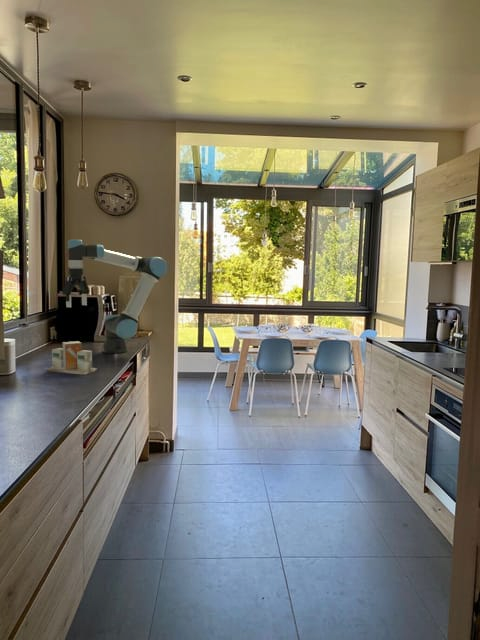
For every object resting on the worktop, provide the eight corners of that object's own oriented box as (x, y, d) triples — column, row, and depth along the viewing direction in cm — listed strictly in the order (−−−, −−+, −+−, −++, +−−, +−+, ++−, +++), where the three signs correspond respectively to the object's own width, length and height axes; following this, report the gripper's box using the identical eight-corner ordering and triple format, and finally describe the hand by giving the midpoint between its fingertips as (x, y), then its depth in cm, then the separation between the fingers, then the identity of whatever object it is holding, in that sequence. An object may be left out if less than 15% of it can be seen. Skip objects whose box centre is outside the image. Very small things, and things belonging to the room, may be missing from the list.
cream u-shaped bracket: (61, 366, 233) (60, 347, 232) (96, 370, 227) (96, 350, 226) (47, 370, 224) (46, 350, 222) (84, 374, 217) (84, 353, 216)
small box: (65, 369, 220) (64, 344, 219) (62, 367, 226) (62, 342, 224) (82, 367, 225) (81, 342, 223) (79, 365, 230) (78, 340, 228)
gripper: (84, 267, 256) (85, 304, 259) (54, 267, 233) (55, 307, 235) (95, 268, 254) (96, 304, 257) (66, 268, 230) (67, 308, 233)
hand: (76, 306), depth 246 cm, fingers open, 13 cm apart
